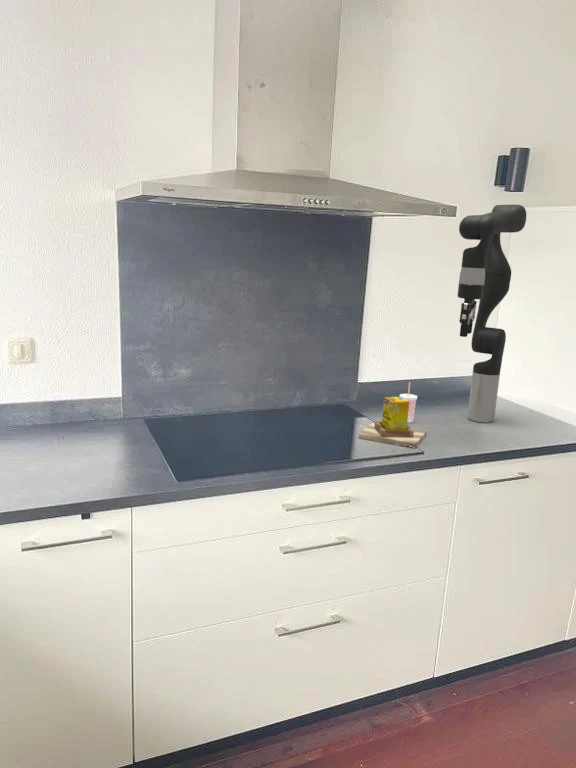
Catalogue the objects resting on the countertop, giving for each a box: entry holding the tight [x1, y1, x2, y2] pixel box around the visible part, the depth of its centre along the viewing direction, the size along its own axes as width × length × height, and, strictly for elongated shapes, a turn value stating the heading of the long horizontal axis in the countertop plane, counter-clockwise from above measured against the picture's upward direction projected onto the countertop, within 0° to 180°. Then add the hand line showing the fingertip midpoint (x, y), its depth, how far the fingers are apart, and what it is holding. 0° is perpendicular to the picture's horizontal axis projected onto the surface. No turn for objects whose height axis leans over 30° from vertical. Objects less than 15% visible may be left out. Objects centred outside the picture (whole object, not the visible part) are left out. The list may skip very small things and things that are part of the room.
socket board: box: [358, 421, 427, 448], centre depth 188 cm, size 15×18×4 cm
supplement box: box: [381, 396, 409, 430], centre depth 187 cm, size 6×6×11 cm
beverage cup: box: [399, 381, 418, 423], centre depth 206 cm, size 6×6×14 cm
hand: (465, 334), depth 185 cm, fingers open, 8 cm apart
